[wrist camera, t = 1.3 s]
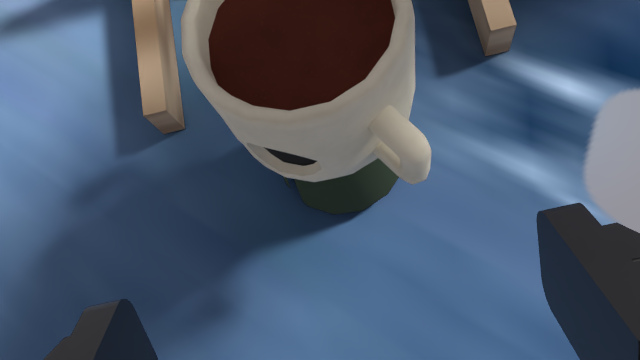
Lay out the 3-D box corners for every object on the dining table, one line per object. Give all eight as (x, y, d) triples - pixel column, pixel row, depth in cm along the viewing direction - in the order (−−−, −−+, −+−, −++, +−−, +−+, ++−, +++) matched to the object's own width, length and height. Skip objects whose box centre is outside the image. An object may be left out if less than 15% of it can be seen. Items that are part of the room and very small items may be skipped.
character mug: (223, 134, 31) (97, -13, 19) (321, 43, 32) (261, -156, 19) (369, 284, 28) (331, 225, 15) (475, 180, 28) (520, 43, 16)
